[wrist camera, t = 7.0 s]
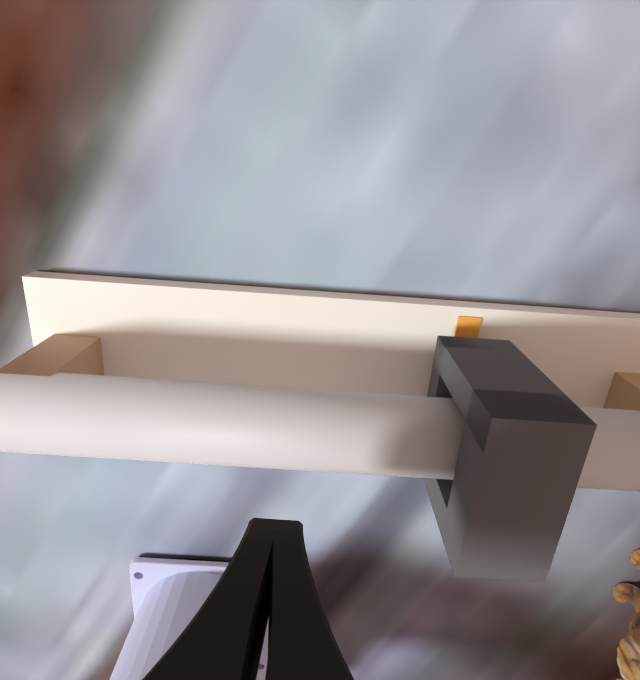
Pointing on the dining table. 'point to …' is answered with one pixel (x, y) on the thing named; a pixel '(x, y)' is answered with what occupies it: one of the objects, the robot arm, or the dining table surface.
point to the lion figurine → (630, 627)
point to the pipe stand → (292, 376)
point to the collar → (505, 460)
